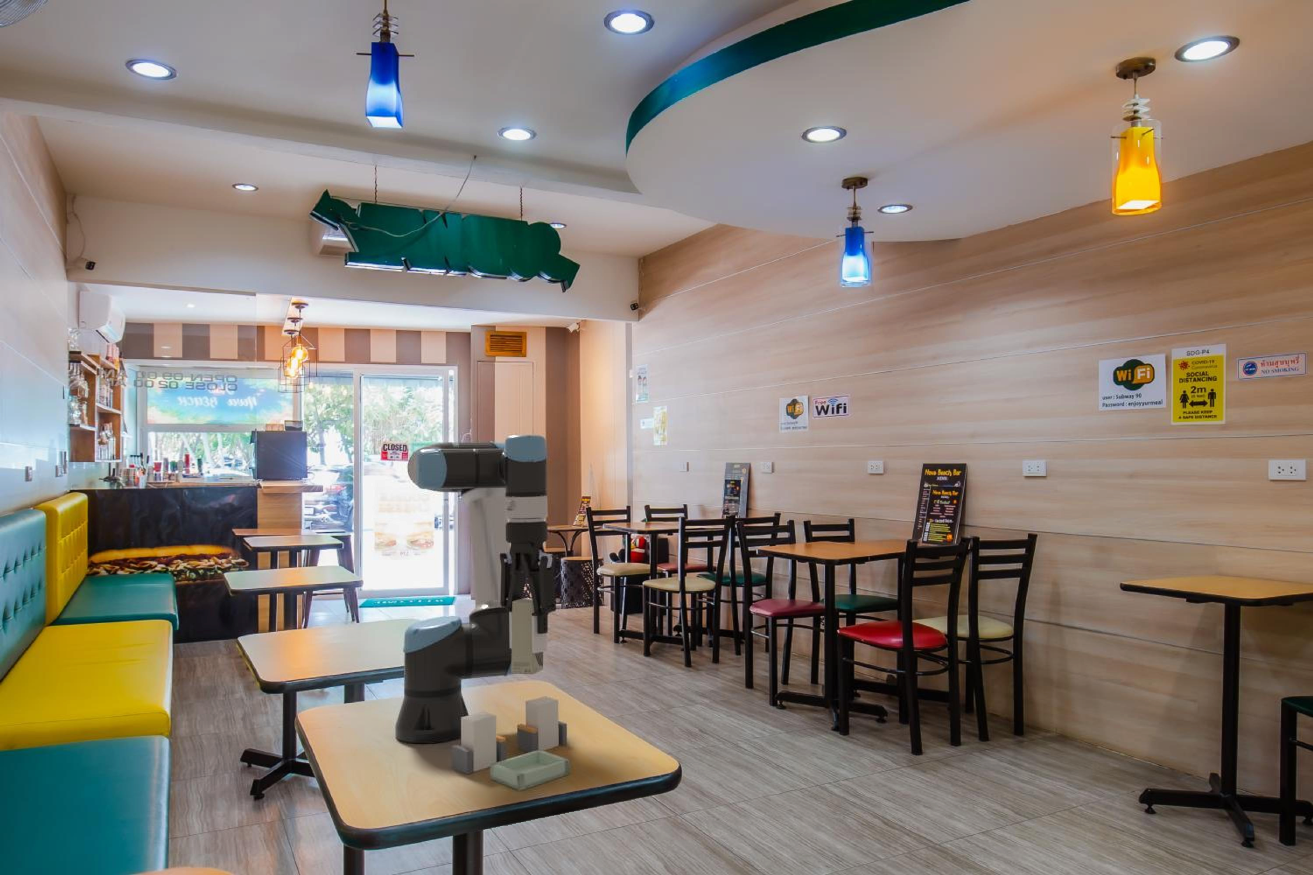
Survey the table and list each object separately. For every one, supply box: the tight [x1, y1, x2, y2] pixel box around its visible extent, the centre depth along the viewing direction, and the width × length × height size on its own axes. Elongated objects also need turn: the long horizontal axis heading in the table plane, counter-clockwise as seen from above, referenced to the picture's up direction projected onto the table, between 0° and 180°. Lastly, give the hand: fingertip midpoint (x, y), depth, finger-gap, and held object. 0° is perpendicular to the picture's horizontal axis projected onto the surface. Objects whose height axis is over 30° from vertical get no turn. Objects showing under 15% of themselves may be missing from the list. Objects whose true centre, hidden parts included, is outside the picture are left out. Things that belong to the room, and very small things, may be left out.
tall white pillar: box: [525, 696, 560, 751], centre depth 173 cm, size 4×5×9 cm
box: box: [511, 597, 544, 676], centre depth 158 cm, size 5×4×13 cm
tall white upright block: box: [460, 711, 497, 773], centre depth 162 cm, size 4×5×9 cm
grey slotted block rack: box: [451, 720, 568, 775], centre depth 168 cm, size 5×23×5 cm, turn 135°
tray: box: [489, 750, 570, 792], centre depth 156 cm, size 9×11×2 cm
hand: (528, 649), depth 157 cm, fingers closed on box, 6 cm apart
